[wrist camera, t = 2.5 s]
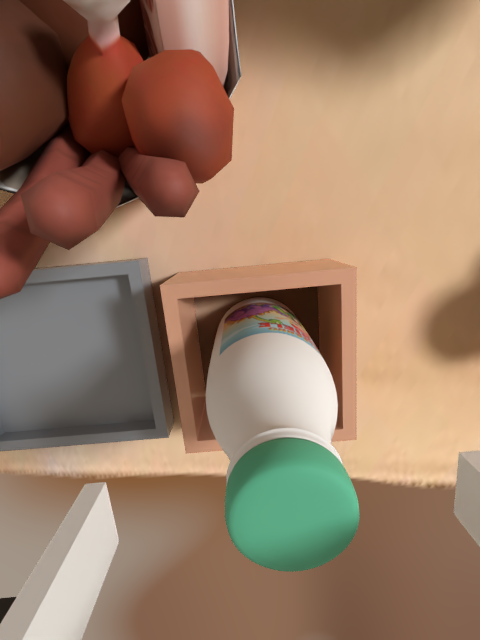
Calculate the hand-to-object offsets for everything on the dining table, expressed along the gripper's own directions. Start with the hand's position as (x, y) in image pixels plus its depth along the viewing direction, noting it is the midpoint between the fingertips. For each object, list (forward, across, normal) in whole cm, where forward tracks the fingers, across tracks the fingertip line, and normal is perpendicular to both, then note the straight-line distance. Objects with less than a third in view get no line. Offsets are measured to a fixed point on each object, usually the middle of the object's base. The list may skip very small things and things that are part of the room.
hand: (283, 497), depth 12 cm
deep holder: (+18, 0, 0) cm, 19 cm away
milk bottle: (+19, 0, 0) cm, 19 cm away
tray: (+19, -17, 0) cm, 25 cm away
